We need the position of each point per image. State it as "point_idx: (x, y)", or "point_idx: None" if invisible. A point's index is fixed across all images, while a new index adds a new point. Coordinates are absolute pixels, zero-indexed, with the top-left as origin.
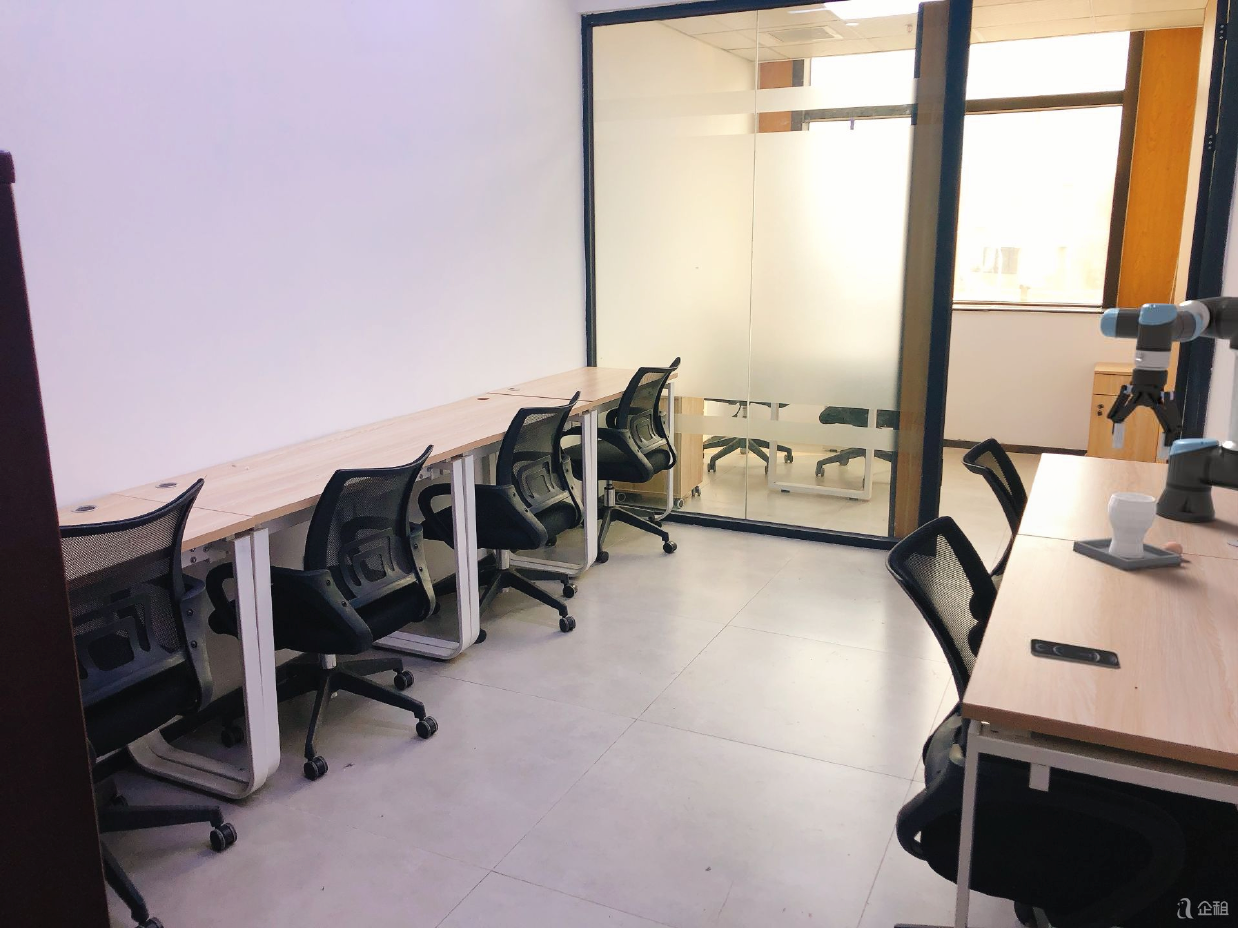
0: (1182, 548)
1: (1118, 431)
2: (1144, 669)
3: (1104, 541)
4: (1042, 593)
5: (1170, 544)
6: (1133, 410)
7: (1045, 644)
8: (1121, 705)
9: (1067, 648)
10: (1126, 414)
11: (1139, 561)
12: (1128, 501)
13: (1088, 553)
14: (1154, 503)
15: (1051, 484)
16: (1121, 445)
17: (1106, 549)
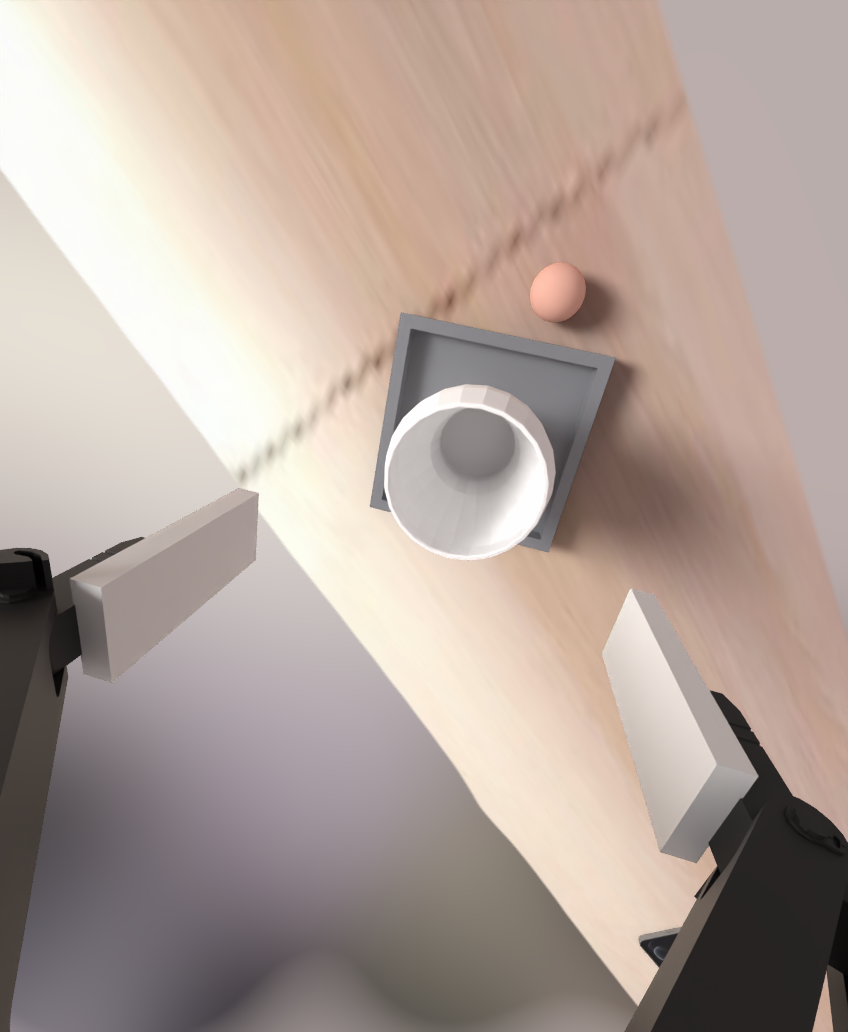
0: (583, 279)
1: (168, 612)
2: None
3: (397, 414)
4: (527, 782)
5: (554, 311)
6: (7, 770)
7: (661, 945)
8: (821, 1021)
9: None
10: (38, 738)
11: (560, 514)
12: (488, 557)
13: None
14: (550, 468)
15: None
16: (245, 515)
17: None
